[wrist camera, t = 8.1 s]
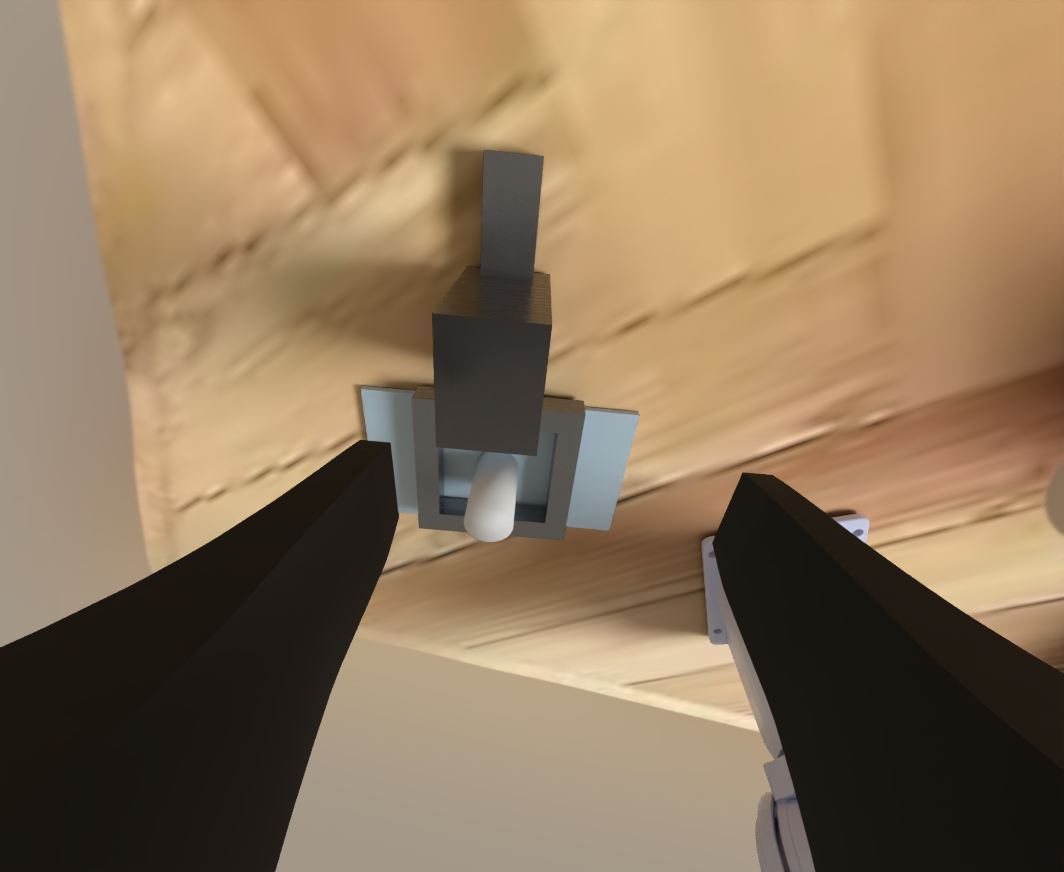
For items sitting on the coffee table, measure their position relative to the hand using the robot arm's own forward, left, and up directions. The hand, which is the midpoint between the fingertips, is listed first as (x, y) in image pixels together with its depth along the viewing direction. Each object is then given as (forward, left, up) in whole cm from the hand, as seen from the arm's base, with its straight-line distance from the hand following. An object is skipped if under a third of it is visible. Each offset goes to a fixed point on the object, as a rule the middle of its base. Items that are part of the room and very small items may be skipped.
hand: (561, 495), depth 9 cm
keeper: (-6, +4, -10) cm, 12 cm away
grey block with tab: (-1, +3, -10) cm, 10 cm away
